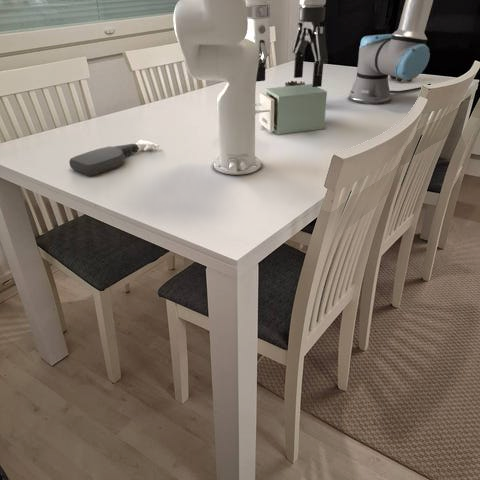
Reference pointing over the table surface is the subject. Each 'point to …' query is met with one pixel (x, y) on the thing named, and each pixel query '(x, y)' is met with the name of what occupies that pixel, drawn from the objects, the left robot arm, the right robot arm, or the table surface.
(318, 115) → the mint green storage box
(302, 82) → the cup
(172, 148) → the table surface
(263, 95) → the drawer
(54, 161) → the table surface
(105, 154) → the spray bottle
